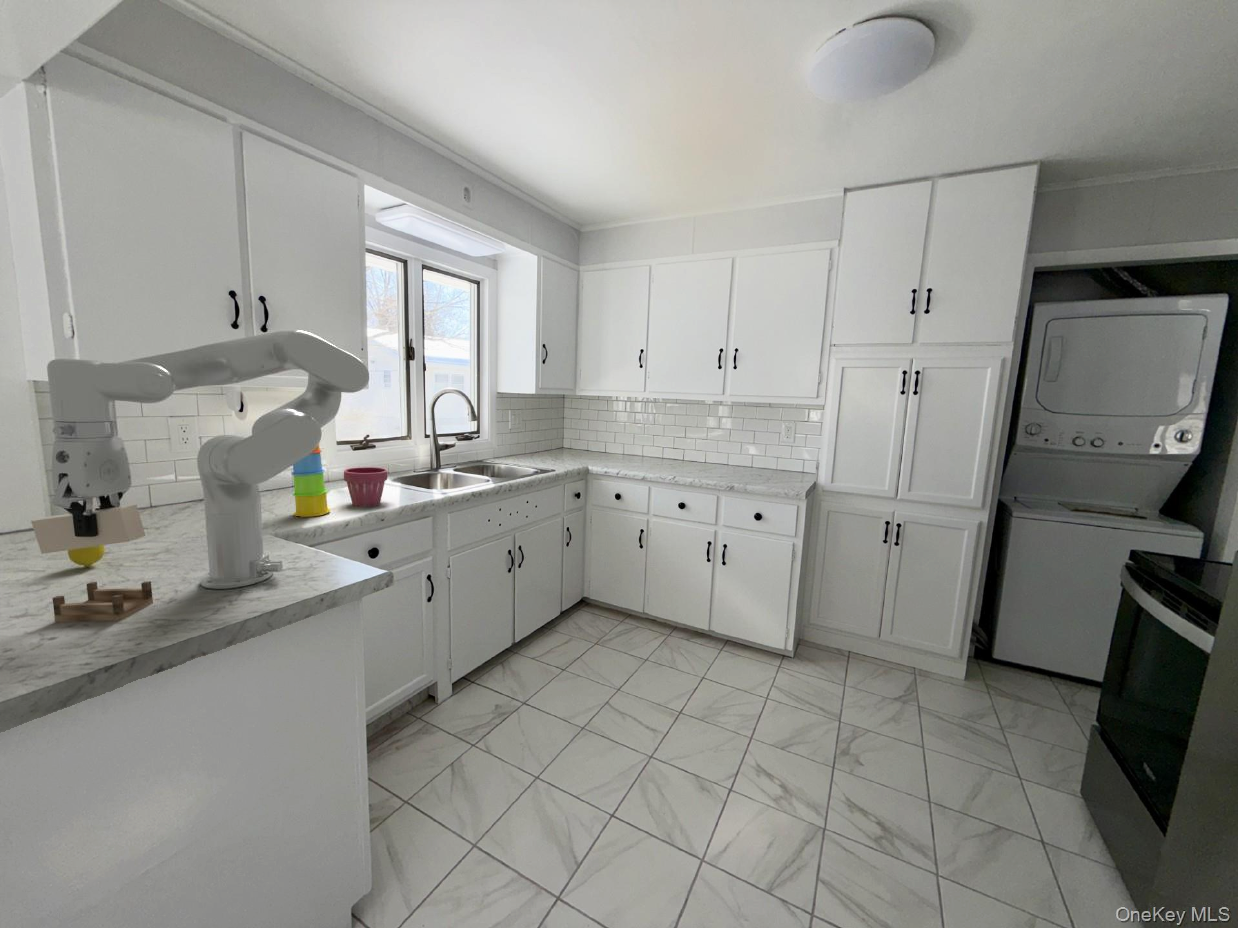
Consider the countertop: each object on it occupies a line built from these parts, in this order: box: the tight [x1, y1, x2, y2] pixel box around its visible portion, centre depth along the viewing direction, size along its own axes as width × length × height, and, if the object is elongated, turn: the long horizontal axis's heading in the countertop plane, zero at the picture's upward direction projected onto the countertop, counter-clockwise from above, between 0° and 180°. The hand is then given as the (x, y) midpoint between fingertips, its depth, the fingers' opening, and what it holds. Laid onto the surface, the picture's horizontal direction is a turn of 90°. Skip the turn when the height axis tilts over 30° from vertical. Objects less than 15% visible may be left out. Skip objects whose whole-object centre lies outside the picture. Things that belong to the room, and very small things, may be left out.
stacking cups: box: [291, 443, 331, 518], centre depth 160 cm, size 10×10×35 cm
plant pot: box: [343, 466, 388, 508], centre depth 178 cm, size 14×14×13 cm
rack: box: [52, 581, 154, 623], centre depth 89 cm, size 10×7×4 cm
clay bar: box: [30, 504, 146, 555], centre depth 87 cm, size 14×4×6 cm, turn 98°
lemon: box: [67, 545, 106, 568], centre depth 109 cm, size 6×6×8 cm
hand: (97, 531), depth 88 cm, fingers closed on clay bar, 3 cm apart
